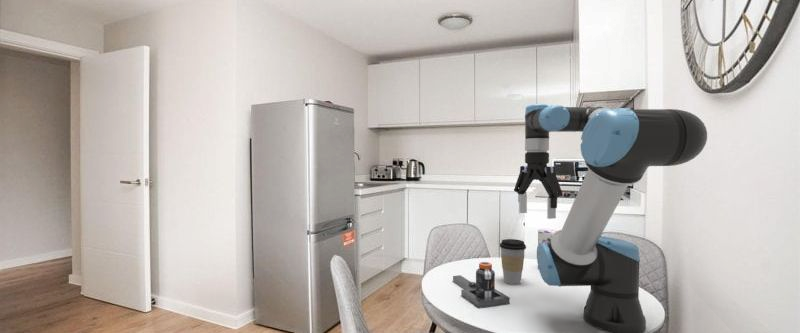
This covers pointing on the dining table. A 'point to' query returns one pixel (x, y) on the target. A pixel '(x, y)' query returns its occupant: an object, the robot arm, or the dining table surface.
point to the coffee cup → (512, 260)
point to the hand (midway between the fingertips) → (536, 215)
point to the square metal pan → (471, 296)
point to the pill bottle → (485, 281)
